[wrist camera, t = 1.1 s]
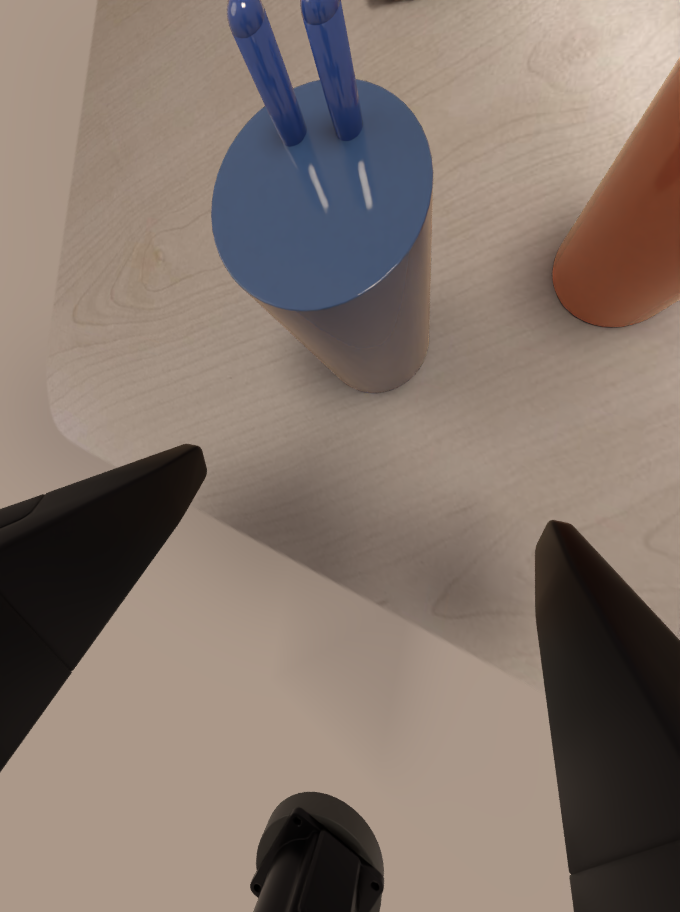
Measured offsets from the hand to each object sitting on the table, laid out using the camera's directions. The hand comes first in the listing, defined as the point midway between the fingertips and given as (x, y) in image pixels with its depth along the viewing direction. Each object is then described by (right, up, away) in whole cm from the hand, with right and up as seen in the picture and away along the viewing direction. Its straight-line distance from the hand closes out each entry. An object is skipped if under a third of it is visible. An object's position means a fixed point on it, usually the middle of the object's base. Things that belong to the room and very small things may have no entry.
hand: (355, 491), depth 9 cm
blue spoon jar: (+2, +8, +13) cm, 16 cm away
